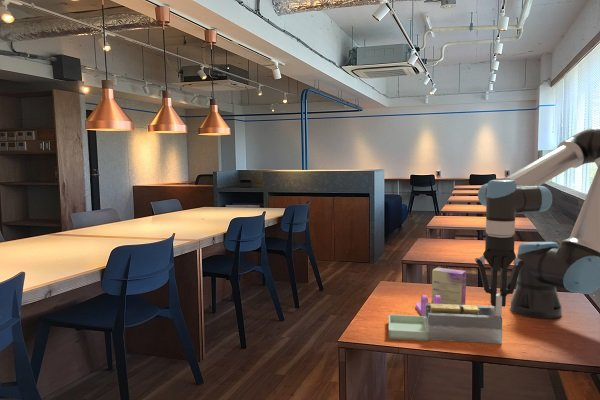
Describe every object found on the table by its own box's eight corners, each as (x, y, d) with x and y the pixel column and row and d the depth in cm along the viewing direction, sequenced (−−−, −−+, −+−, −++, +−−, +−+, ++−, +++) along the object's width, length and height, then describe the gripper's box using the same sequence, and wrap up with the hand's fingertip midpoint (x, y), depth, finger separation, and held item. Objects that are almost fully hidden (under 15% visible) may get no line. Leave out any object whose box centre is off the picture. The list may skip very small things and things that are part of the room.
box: (465, 303, 169) (466, 270, 168) (461, 307, 165) (462, 273, 164) (436, 299, 175) (436, 266, 174) (431, 303, 170) (431, 270, 169)
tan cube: (458, 318, 142) (458, 304, 142) (460, 322, 138) (460, 309, 138) (444, 317, 143) (444, 304, 142) (445, 322, 139) (445, 308, 139)
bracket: (441, 318, 155) (441, 296, 154) (423, 318, 155) (423, 297, 154) (430, 305, 168) (430, 286, 167) (414, 306, 168) (414, 286, 167)
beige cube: (476, 319, 141) (476, 305, 141) (478, 323, 137) (478, 309, 137) (461, 318, 142) (462, 305, 142) (463, 322, 138) (464, 309, 138)
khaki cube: (444, 317, 143) (444, 304, 142) (445, 322, 139) (445, 308, 139) (430, 316, 144) (430, 303, 143) (431, 321, 140) (431, 307, 139)
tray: (425, 324, 149) (425, 316, 149) (428, 341, 135) (428, 332, 135) (388, 322, 151) (388, 314, 151) (388, 338, 137) (388, 330, 137)
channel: (492, 328, 144) (493, 305, 144) (502, 343, 133) (502, 318, 132) (425, 325, 148) (425, 302, 147) (428, 339, 136) (428, 315, 136)
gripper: (521, 233, 139) (518, 314, 141) (473, 232, 141) (471, 311, 143) (528, 237, 131) (525, 322, 133) (477, 236, 134) (475, 320, 136)
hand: (497, 317), depth 138 cm, fingers closed
